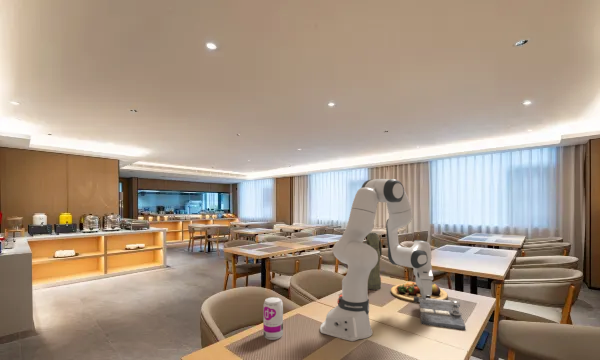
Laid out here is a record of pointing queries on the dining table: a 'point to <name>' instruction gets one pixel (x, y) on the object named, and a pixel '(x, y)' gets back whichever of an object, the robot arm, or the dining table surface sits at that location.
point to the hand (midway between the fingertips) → (423, 299)
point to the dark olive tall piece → (374, 275)
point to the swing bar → (437, 301)
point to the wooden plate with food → (416, 292)
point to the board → (441, 315)
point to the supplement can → (273, 318)
